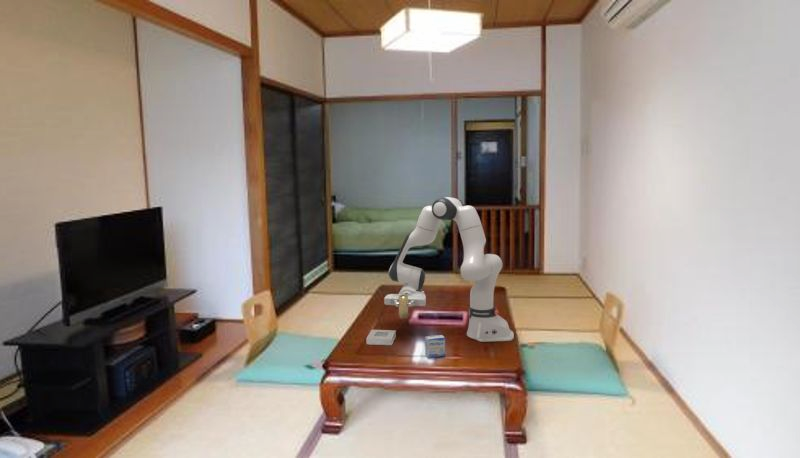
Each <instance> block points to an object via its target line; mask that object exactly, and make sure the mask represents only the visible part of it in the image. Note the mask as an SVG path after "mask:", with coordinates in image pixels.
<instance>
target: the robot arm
mask: <svg viewBox="0 0 800 458" xmlns="http://www.w3.org/2000/svg"><path fill="white" fill-rule="evenodd" d="M442 221H455V222H456V225H457V228H458V232H459V234H460V239H461V242H462V247H463V261H462V263H461V265H460V275H461V277H462V279H463V280H465V282H473V285H472V287H471V289H470V293H469V296H470V297H469V308H468V317H469V321H468V327H467V331H466V336H467V337H468V338H470V339H473V340H476V341H478V342H481V343H482V342H484V343H485V342H511V341H513V340H514V339H515V336H514V335H515V334H514V331H513V330H512V329H510V327H509V324H508V321H507V320H506V319H504V318H503V317H502V316H500V315H499V310H498V308H497V307H495V306H494V293H495V286H496V284H497V279H498V276H499V274H500V272H501V270H502V269H503V261H502V259H501V257H500V256H499V255H497V254H496V253H495V254H493V253H485V251H484V250H485V245H486V242H487V239H486V235H485V231H484V228H483V224H482V222H481V219H480V216H479V214H478V211H477V210H476V208H475V206H472V205H465V204H464V202H463V201H462V199H459V198H457V197H451V196H445V197H440V198H437V199H435V201H434V202H432V205H426V206H424V207H423V208H422V210H421V211H420V214H419V216H418V219H417V222H416V226H415V228H414V229H413V230H412V232H409V233H407V235H406V236H405V237H404V240H403V242H402V244H401V246H400V248H399V250H398V252H397V255H396V256H395V259H394V261H393V262H392V263H391V265H390V267H389V269H388V276H389V278H390V280H391V281H392V282H395V283H396V282H397V283H402V284H403V286H402V287H401V289H400V291H399V292H398V293H390V294H386V295H385V297H384V298H383V299H384V301H383V302H384V305H385V306H395V307H399V296H400V295H407V296H408V308H411V307H413V306H414V307H425V306H426V304H427V297H426V294H425V291H424V290H422V289H423V287H424V284H425V280H426V273H425V271H424V269H423V268H420V267H417V266H413V265H410V264H406V263H405V262H404V259H405V257H406V255H407V252H408V251H409V249H411V248H413V247H417V246H418V247H419V246H420V247H421V246H427V245H429V244H432V243H433V242H434V241H435V240H436V237H437V235H438V231H439V228H440V225H441V222H442Z"/></svg>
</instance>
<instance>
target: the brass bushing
mask: <svg viewBox="0 0 800 458" xmlns="http://www.w3.org/2000/svg"><path fill="white" fill-rule="evenodd" d="M408 317H409V307H408V296H407V295H400V296H399V306H398V318H400V319H407V318H408Z"/></svg>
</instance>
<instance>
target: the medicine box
mask: <svg viewBox="0 0 800 458" xmlns="http://www.w3.org/2000/svg"><path fill="white" fill-rule="evenodd" d="M424 347H425V348H424V352H425V354H424V355H425V356H426V357H427V358H428V359H433V357H435V358H442V357H446V338H445V336H444V335H442V334H436V335H428V336H424ZM441 356H442V357H441Z"/></svg>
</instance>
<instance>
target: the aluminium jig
mask: <svg viewBox="0 0 800 458" xmlns="http://www.w3.org/2000/svg"><path fill="white" fill-rule="evenodd" d="M396 336H397V330H396V329H395V330H390V329H371V330H370V332H369V333H368V335H367V337H366V339H365V340H366V345H369V346H370V345H371V346H372V345H373V346H376V345H377V346H393V343H394V341H395V339H396Z"/></svg>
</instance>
